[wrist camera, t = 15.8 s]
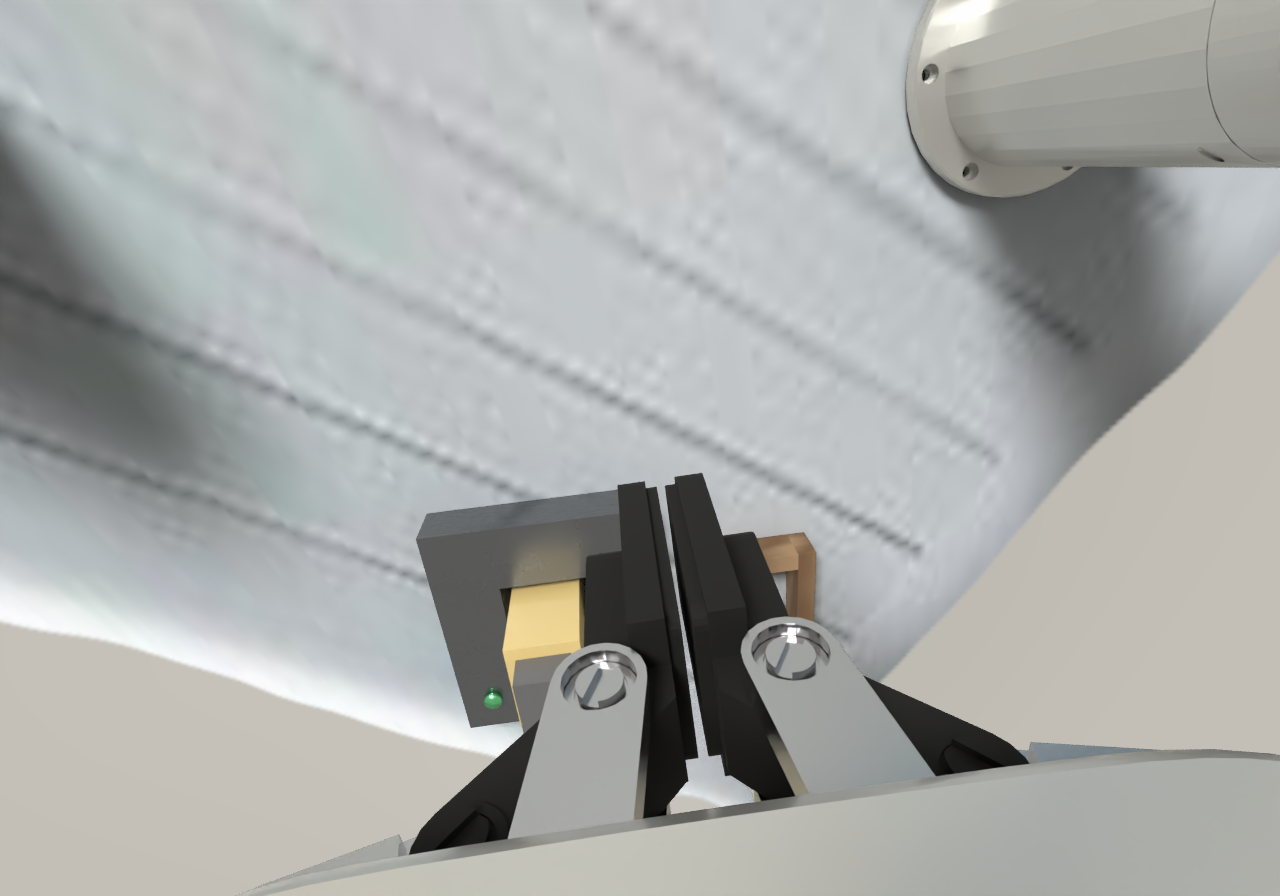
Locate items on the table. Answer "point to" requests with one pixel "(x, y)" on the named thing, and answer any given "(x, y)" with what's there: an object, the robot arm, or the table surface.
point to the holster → (793, 570)
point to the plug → (541, 640)
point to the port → (505, 579)
